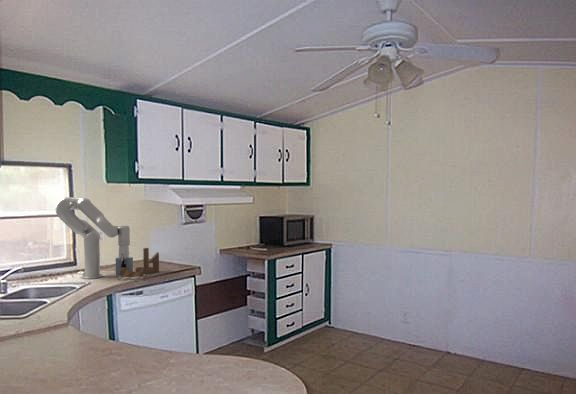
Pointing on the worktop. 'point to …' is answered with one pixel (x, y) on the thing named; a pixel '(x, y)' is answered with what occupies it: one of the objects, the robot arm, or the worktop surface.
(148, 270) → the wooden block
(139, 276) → the slotted base
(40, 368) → the worktop surface
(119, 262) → the slotted plate
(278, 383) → the worktop surface
